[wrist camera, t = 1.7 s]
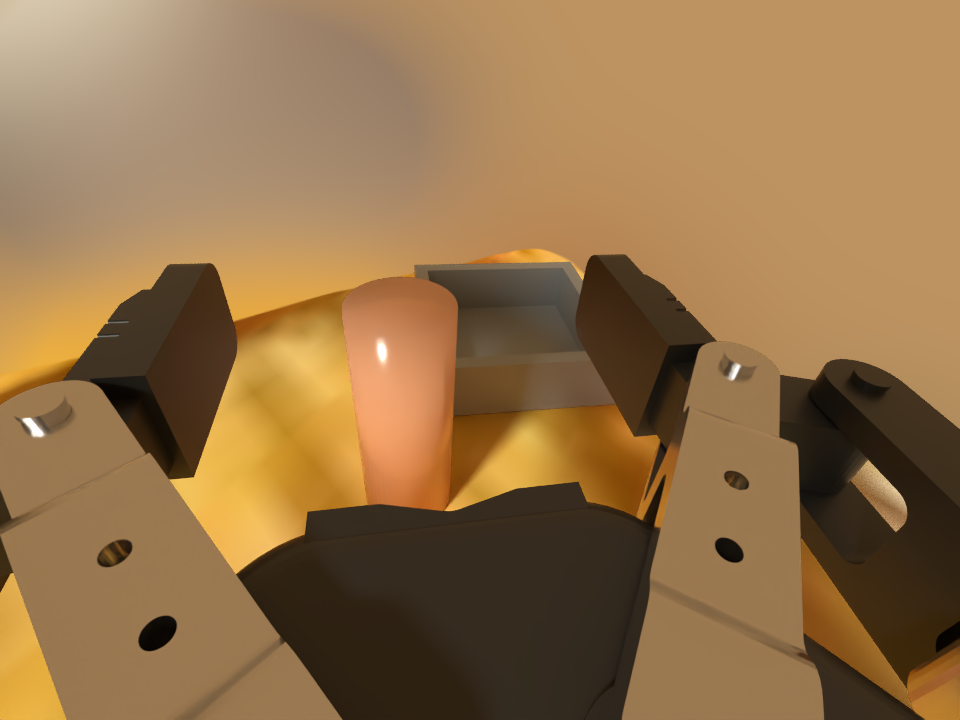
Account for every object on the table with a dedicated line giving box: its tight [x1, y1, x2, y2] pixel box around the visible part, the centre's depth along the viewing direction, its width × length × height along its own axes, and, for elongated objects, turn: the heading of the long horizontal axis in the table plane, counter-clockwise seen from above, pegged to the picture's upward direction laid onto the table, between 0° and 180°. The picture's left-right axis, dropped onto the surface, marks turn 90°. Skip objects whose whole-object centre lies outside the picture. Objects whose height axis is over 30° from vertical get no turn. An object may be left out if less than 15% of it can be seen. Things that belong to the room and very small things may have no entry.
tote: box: [415, 262, 615, 416], centre depth 44 cm, size 16×16×5 cm
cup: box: [341, 277, 458, 511], centre depth 28 cm, size 6×6×15 cm
